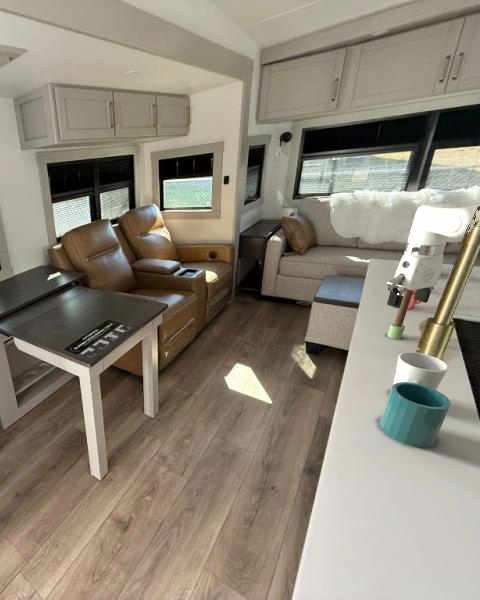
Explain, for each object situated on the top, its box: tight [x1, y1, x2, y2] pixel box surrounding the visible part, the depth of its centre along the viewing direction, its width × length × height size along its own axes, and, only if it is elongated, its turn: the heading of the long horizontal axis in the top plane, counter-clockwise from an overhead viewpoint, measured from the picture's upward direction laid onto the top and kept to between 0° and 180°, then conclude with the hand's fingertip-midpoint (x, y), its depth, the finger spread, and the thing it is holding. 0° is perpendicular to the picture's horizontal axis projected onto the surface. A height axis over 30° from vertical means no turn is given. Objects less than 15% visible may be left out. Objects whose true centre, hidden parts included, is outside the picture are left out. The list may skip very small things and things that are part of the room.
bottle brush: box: [387, 290, 413, 340], centre depth 98 cm, size 3×3×17 cm
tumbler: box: [379, 382, 452, 448], centre depth 67 cm, size 8×8×11 cm
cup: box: [392, 351, 449, 391], centre depth 75 cm, size 8×8×12 cm
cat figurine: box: [400, 288, 422, 311], centre depth 116 cm, size 7×7×12 cm
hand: (406, 303), depth 96 cm, fingers open, 9 cm apart
